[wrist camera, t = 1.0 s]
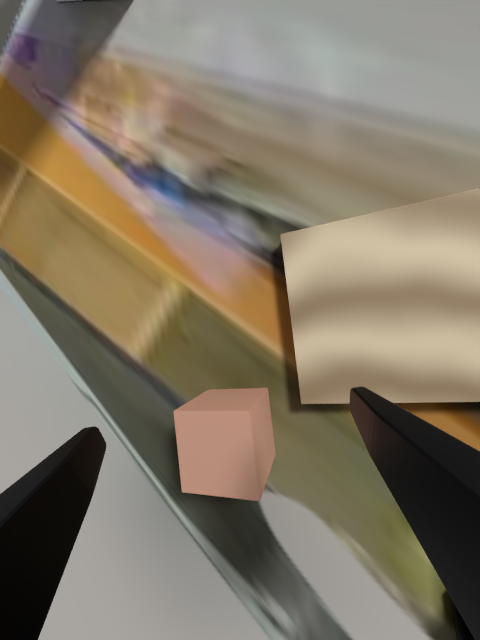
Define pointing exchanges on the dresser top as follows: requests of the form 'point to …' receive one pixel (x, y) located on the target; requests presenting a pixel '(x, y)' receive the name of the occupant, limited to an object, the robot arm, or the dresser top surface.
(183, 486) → the terracotta cube
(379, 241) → the oak base
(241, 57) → the dresser top surface
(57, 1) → the string lights box
